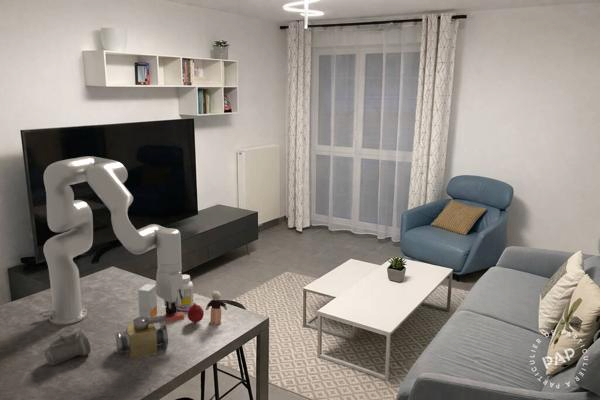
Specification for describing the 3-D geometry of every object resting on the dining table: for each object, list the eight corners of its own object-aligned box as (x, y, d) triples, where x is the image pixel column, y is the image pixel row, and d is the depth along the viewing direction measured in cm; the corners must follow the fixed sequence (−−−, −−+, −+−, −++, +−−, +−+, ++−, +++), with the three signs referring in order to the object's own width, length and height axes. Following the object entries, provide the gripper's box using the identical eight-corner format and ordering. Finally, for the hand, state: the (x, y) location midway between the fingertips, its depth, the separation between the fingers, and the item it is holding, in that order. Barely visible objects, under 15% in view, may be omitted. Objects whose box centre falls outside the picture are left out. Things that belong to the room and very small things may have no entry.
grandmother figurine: (206, 326, 173) (205, 294, 170) (205, 321, 176) (205, 289, 173) (227, 325, 174) (227, 292, 171) (227, 320, 178) (226, 288, 175)
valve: (118, 360, 150) (116, 337, 148) (116, 348, 157) (114, 325, 156) (168, 350, 157) (167, 328, 155) (164, 338, 164) (163, 317, 162)
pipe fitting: (84, 344, 158) (78, 318, 154) (93, 356, 152) (88, 330, 149) (45, 361, 150) (38, 334, 146) (53, 375, 145) (47, 347, 141)
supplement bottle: (182, 302, 191) (181, 272, 188) (197, 305, 189) (196, 275, 186) (172, 309, 185) (171, 278, 182) (187, 312, 183) (186, 281, 180)
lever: (134, 330, 152) (134, 324, 152) (133, 324, 156) (132, 317, 156) (184, 322, 158) (184, 316, 158) (182, 316, 162) (182, 310, 162)
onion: (206, 321, 177) (206, 301, 175) (198, 328, 171) (198, 307, 170) (193, 318, 179) (192, 298, 177) (184, 325, 173) (183, 304, 171)
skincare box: (149, 321, 175) (148, 291, 172) (139, 320, 176) (137, 290, 173) (157, 314, 181) (156, 284, 178) (147, 312, 182) (146, 283, 179)
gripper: (147, 262, 160) (149, 313, 164) (172, 275, 150) (174, 328, 155) (167, 257, 165) (168, 306, 170) (192, 269, 156) (193, 321, 160)
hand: (171, 317), depth 162 cm, fingers closed
